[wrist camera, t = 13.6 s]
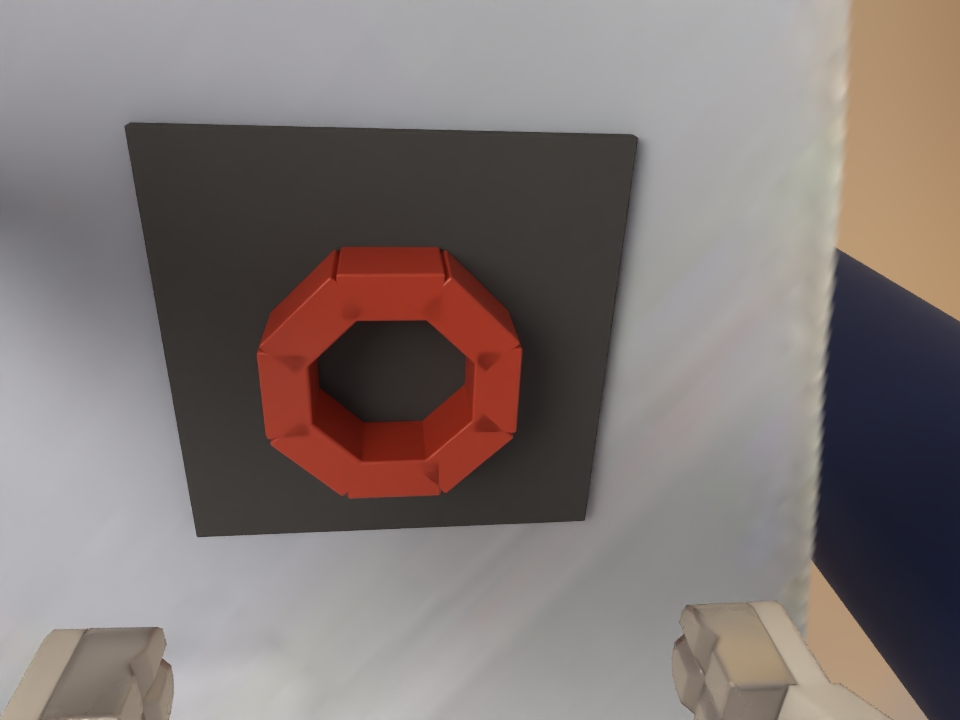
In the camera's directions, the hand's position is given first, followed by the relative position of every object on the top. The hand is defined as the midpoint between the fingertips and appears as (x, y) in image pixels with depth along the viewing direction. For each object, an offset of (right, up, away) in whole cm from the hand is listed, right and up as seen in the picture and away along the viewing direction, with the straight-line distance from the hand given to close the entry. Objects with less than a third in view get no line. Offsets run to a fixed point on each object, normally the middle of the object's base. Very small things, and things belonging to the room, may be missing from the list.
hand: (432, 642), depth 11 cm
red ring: (-2, +4, +8) cm, 10 cm away
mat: (-2, +5, +9) cm, 10 cm away
